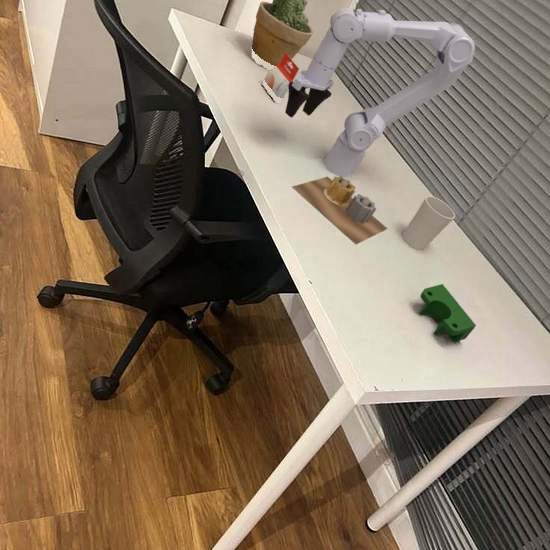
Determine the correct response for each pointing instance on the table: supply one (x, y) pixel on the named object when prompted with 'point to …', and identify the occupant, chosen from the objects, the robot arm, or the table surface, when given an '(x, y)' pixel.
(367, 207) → the grey gear
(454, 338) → the clamp
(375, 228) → the board
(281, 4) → the potted plant
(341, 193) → the brass gear
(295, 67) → the ink box
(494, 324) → the table surface
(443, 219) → the cup
